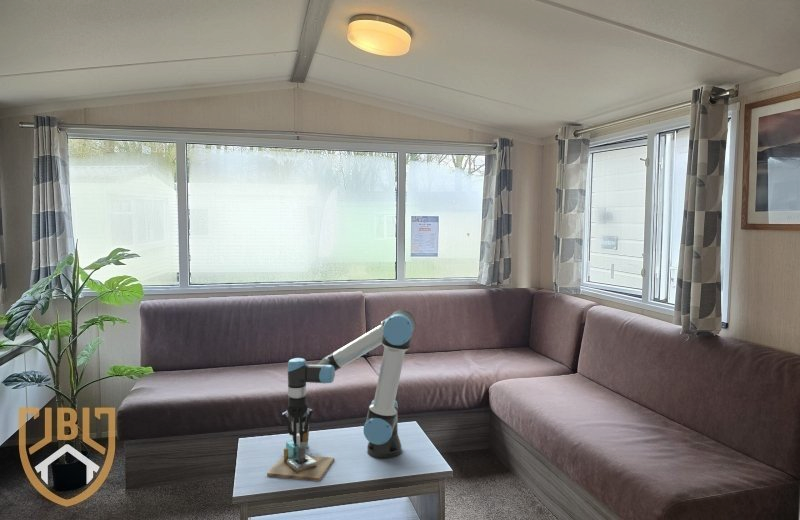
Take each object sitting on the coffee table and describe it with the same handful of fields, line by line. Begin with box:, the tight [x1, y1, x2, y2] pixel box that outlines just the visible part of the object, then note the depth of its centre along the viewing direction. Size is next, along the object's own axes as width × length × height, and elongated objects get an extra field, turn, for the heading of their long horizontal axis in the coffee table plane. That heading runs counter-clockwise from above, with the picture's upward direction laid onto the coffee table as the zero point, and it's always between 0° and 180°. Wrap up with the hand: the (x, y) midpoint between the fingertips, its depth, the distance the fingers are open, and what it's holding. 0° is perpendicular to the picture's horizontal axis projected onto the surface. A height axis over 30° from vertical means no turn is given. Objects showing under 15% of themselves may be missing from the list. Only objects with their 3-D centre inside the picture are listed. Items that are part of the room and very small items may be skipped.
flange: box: [285, 440, 317, 472], centre depth 211 cm, size 9×16×6 cm, turn 39°
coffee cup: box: [290, 411, 310, 450], centre depth 228 cm, size 8×8×15 cm
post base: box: [266, 446, 335, 482], centre depth 208 cm, size 22×18×8 cm
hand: (298, 449), depth 215 cm, fingers closed
